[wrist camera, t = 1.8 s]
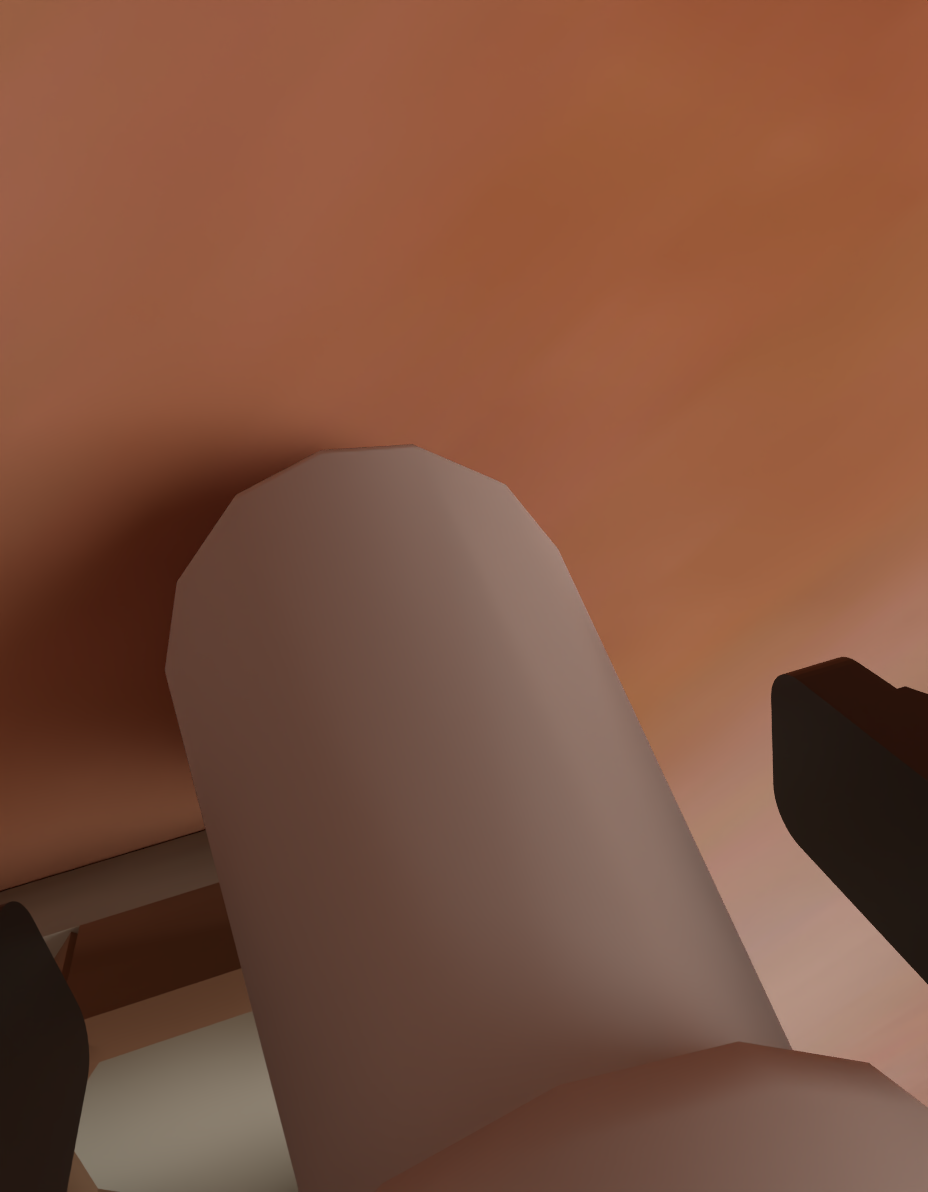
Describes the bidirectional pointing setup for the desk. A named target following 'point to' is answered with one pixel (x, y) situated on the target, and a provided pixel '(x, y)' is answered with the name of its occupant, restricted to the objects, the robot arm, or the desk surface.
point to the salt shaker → (477, 867)
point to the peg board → (161, 1026)
